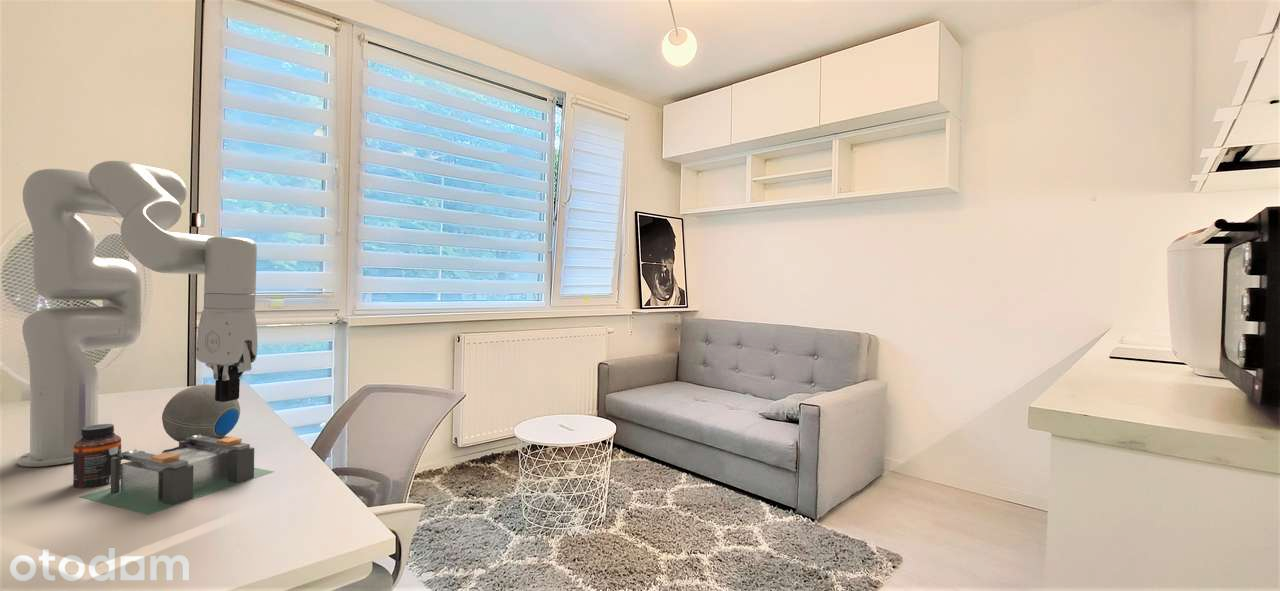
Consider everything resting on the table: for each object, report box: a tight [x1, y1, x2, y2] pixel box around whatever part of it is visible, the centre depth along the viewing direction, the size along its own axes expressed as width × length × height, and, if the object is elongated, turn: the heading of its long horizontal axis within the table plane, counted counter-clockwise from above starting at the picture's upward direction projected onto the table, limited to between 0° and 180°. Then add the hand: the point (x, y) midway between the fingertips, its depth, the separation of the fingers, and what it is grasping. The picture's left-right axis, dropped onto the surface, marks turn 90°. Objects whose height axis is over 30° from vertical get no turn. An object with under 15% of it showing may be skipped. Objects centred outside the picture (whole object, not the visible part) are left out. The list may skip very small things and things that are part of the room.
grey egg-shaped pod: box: [161, 384, 241, 454], centre depth 112 cm, size 13×13×15 cm
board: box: [79, 436, 275, 515], centre depth 92 cm, size 18×20×7 cm
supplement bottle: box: [72, 423, 122, 489], centre depth 92 cm, size 6×6×11 cm
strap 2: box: [185, 434, 251, 451], centre depth 97 cm, size 15×2×2 cm, turn 72°
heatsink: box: [120, 444, 230, 502], centre depth 92 cm, size 10×13×5 cm
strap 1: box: [118, 448, 188, 470], centre depth 87 cm, size 15×2×2 cm, turn 72°
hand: (227, 400), depth 96 cm, fingers closed
